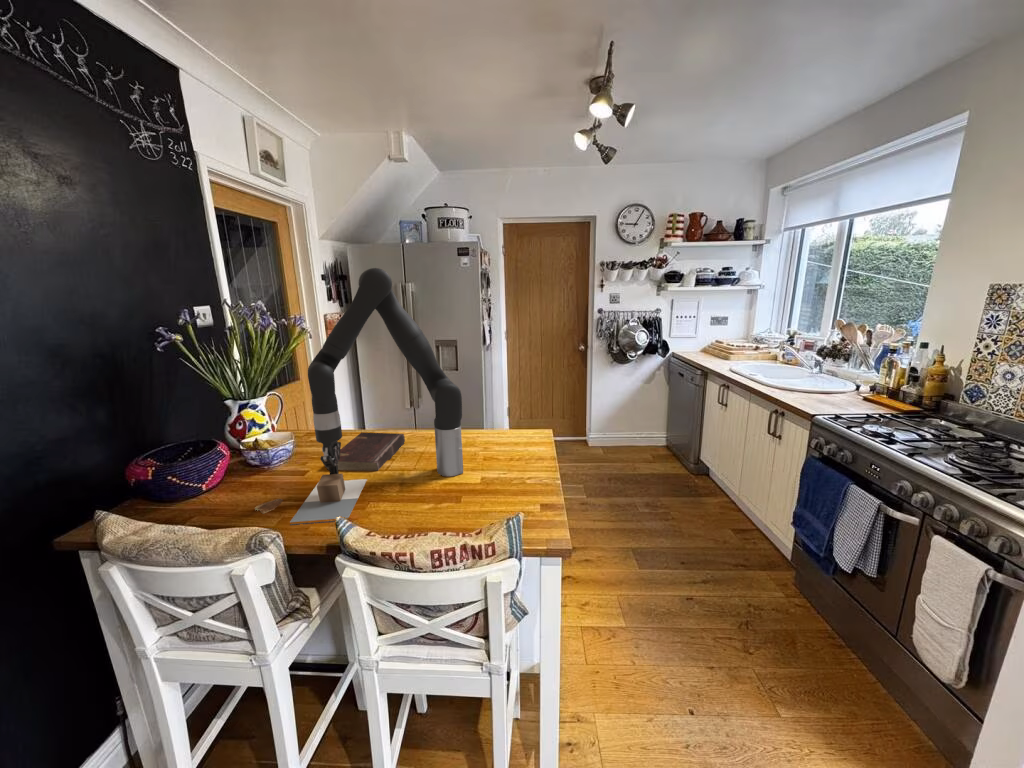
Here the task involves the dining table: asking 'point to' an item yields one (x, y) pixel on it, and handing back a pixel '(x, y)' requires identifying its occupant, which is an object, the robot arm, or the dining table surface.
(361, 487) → the board
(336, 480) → the walnut cube
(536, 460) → the dining table surface
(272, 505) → the shard
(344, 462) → the hardback book
